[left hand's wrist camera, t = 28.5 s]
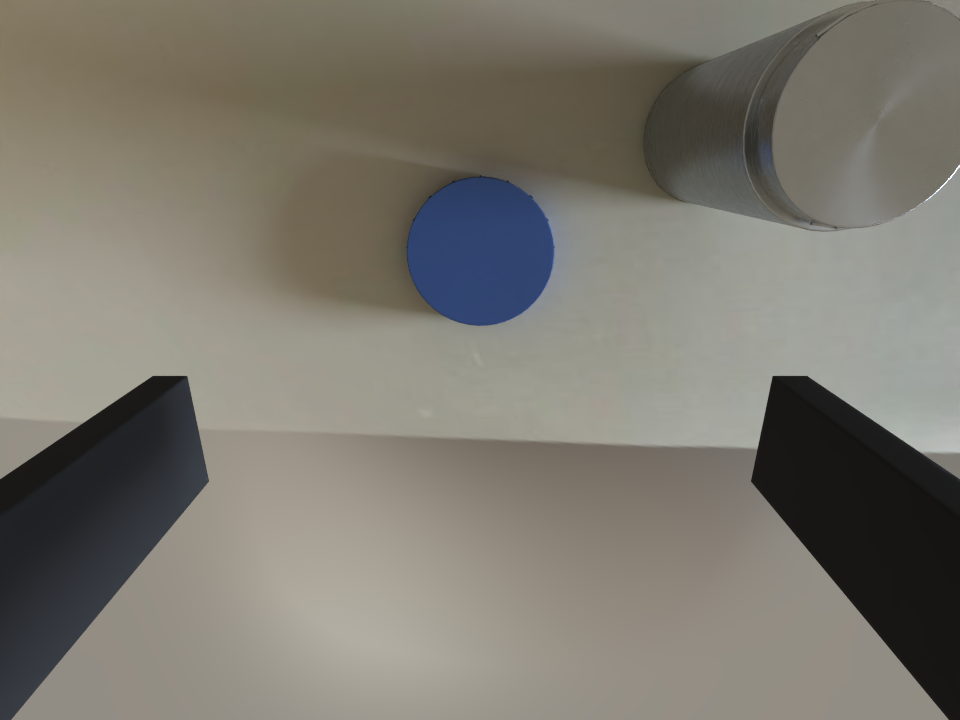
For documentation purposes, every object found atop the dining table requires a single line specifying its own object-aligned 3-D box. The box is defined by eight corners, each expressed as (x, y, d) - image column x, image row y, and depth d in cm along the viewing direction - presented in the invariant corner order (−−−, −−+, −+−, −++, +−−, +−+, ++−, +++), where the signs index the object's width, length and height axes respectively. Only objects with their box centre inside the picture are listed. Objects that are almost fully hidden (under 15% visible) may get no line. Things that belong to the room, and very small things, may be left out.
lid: (379, 245, 37) (374, 250, 36) (485, 142, 35) (485, 141, 33) (475, 344, 40) (475, 353, 38) (580, 254, 38) (585, 259, 36)
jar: (798, 150, 35) (1028, 147, 20) (683, 229, 37) (819, 278, 22) (738, 30, 33) (950, -72, 18) (619, 121, 35) (722, 95, 20)
